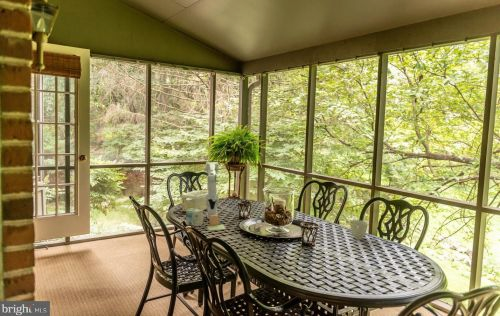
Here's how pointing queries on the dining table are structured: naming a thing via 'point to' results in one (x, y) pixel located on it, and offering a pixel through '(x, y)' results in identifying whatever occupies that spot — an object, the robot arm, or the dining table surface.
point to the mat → (215, 227)
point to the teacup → (358, 228)
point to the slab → (213, 220)
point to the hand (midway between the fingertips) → (212, 209)
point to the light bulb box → (194, 217)
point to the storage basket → (194, 200)
